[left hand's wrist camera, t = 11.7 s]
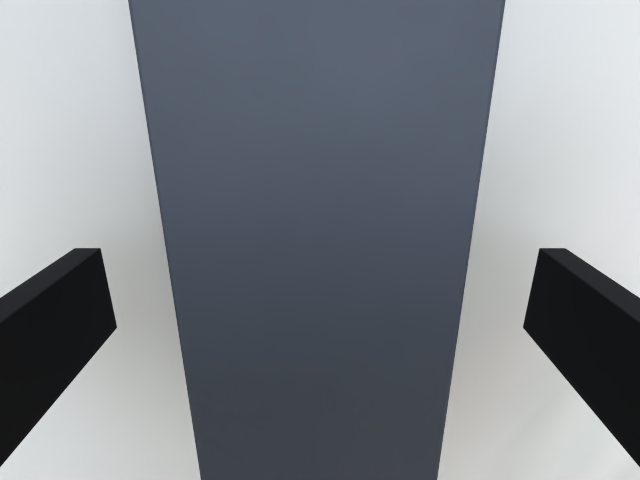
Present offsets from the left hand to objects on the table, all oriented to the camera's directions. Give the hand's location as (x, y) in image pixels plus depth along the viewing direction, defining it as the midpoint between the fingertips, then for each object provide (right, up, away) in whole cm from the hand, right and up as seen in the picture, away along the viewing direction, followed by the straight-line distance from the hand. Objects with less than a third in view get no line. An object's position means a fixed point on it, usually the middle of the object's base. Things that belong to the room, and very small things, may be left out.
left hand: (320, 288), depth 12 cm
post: (0, +30, -7) cm, 31 cm away
